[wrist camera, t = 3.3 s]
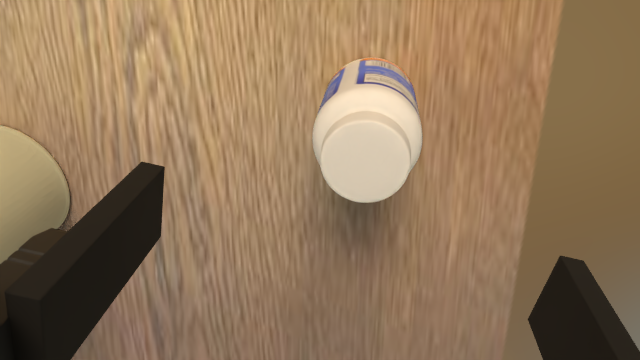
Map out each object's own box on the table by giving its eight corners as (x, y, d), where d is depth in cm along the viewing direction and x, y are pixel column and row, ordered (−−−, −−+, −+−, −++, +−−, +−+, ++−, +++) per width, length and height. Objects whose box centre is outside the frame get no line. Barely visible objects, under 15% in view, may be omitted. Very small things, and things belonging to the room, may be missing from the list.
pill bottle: (348, 153, 32) (334, 234, 23) (311, 77, 30) (281, 136, 22) (428, 120, 31) (445, 195, 22) (395, 38, 29) (399, 85, 20)
